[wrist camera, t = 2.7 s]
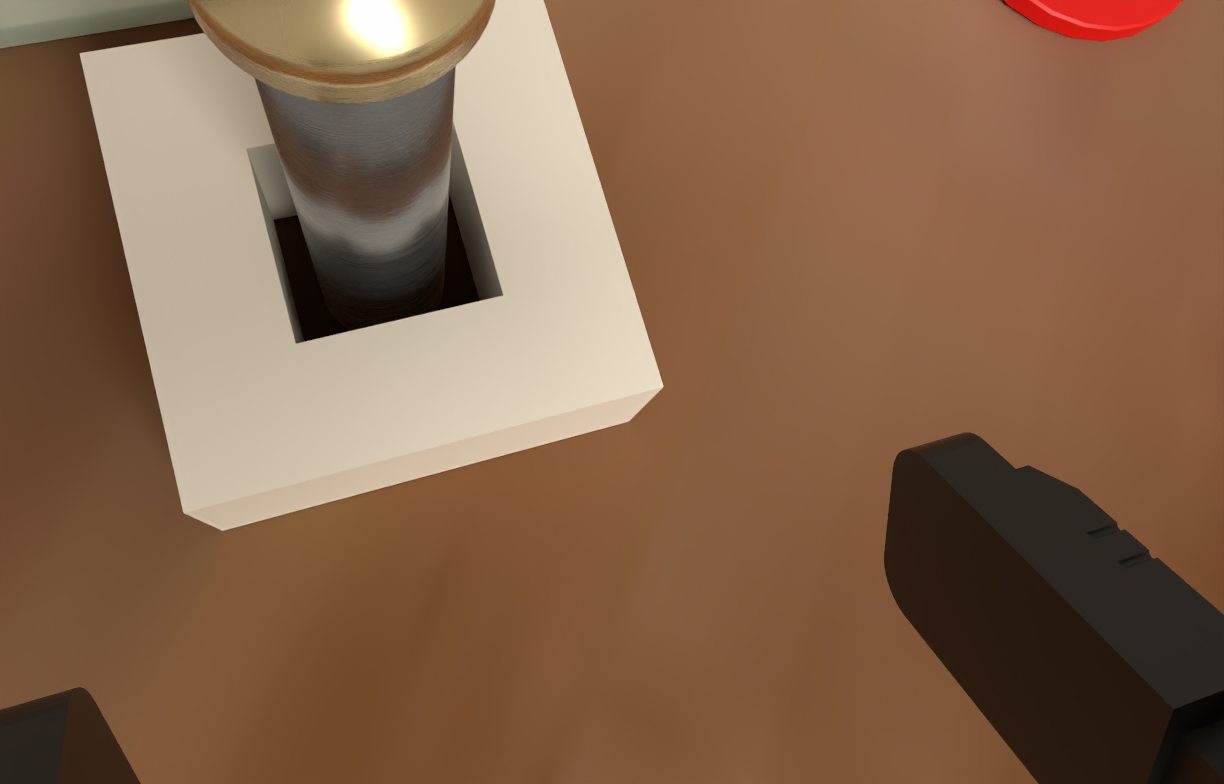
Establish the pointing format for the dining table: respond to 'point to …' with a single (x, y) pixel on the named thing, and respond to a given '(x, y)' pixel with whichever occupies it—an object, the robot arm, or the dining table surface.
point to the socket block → (381, 354)
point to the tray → (80, 17)
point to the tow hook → (1095, 16)
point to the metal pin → (360, 134)
